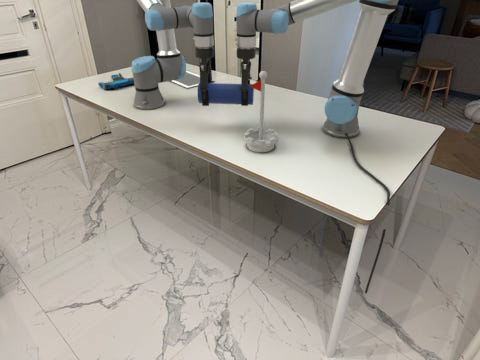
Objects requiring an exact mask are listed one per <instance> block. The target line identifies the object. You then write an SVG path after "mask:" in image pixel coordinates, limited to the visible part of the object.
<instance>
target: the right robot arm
mask: <svg viewBox="0 0 480 360" xmlns="http://www.w3.org/2000/svg"><path fill="white" fill-rule="evenodd" d="M355 2H358V5H359V6H360V7H359V8H360V9H361V10H360V13H359V15H358V18H357V22H356V25H355V27H354V31H353V34H352V37H351V41H350V43H349V46H348V49H347V53H346V56H345V59H344V62H343V65H342V68H341V72H340V74H339V77H336V78H335V79H334V81H333V82H332V86H331V89H330V92H329V95H328V98H327V100H326V102H325V103H324V113H325V116H326V120H325V121H324V123H323V126H322V130H323V132H324V133H325V134H326V135H329V136H332V137H335V138H339V139H341V138H342V139H347V141H348V144H349V147H350V151H351V155H352V158H353V160H354V162H355V164H356V165H357V166H358V167H359V168H360V170H362V171H363V172H365V173H366V174H367V175H368V176H370V178H372V179H373V180H374V181H376V182H377V183H378V184H380V185H381V186H382V187H383V188H384V189H385V191H386V194H387V196H386V205H388V206H390V202H391V201H390V199H391V191H390V190H389V188H388V186H387V185H386V184H384V183H383V182H382V181H381V180H380V179H378V178H377V177H376V176H374V175H373V174H372V172H371V173H370V171H368V170H367V169H365V168H364V167H363V166H362V165H361V163H359V161H358V160H357V157H356V155H355V152H354V148H353V143H352V141H351V139H350V138H354V137H356V136H357V135H359V132H360V125H359V118H358V117H359V116H358V114H359V111H360V110H359V109H360V105H361V101H362V98H363V96H364V93H365V89H364V88H365V87H364V84H365V82H364V81H365V78H366V74H367V73H368V69H369V67H370V64H371V62H372V59H373V56H374V53H375V51H376V49H377V47H378V46H377V45H378V43H379V40H380V37H381V35H382V32H383V29H384V27H385V24H386V21H387V18H388V16H389V15H390V14H392V13H393V12H394V11H395V10H396V8H397V5H398V2H399V0H293V1H291V2H288V3H286V4H282V5H280V6H277V7H276V8H273V9H258V7H257V4H256V3H254V2H241V3H238V4H237V5H236V15H235V20H236V37H235V39H234V40H235V41H236V47H237V48H236V58H237V59H240V60H242V61H241V62H240V74H241V82H240V84H241V88H240V90H241V104H240V105H241V106H245V107H248V106H249V105H248V84H251V80H253V79H252V78H253V77H252V76H251V69H252V67H251V66H252V61H251V60H253V59H255V58H256V53H257V51H256V46H257V33H269V34H275V35H278V34H285V33H286V32H287V30H288V28H289V26H290V25H293V24H295V23H298V22H302V21H304V20H307V19H310V18H312V17H316V16H318V15H322V14H324V13H328V12H330V11H332V10H335V9H338V8H341V7H344V6H347V5H350V4H353V3H355ZM386 231H387V228H384V229H382V233H381V238H380V242H379V246H378V249H377V252H376V256H375V258H374V262H373V265H372V268H371V271H370V274H369V277H368V280H367V283H366V287H365V290H364V294H368V291H369V287H370V285H371V281H372V279H373V276H374V271H375V269H376V266H377V263H378V260H379V257H380V253H381V250H382V247H383V243H384V239H385V235H386Z"/></svg>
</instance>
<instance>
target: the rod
mask: <svg viewBox="0 0 480 360" xmlns="http://www.w3.org/2000/svg"><path fill="white" fill-rule="evenodd" d="M253 84H254V83H250V84H248V106H249V105H250V106H251V105H254V98H255V97H254V95H255V93H254V91H255V89H254V88H251V87H250V86H252V85H253ZM240 88H241V83H225V82H223V83H222V82H213V83H208V88H207V89H208V97H209V105H210V104H213V105H214V104H215V105H241V90H240ZM199 89H200V83H199V85H198V86H197V101H198V103H199V104H202V93H201V91H199Z"/></svg>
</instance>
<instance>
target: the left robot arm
mask: <svg viewBox="0 0 480 360" xmlns="http://www.w3.org/2000/svg"><path fill="white" fill-rule="evenodd" d="M136 2H137V3H138V5H139V6H140V7H141V9H143V11H144V20H145V24H146V27H147V29H148V30H149V31H154V32H156V40H157V44H158V52H157V53H156V57H157V58H155V56H153V55H144V56H140V57H137V58H134V60H132V62H131V63H130V64H131V74H132V78H133V79H134V83H133V84H132V85H134V88H135V93H134V100H133V105H134V108H136V109H138V110H155V109H159V108H161V107H163V106H164V105H165V99H164V97H163V94H162V92H161V90H160V86H159V84H161V83H167V82H171V81H173V80H175V81H176V80H178V79H182V78H183V77H184V76H185V73H186V71H187V63H186V59H185V57H184V56H183V55H182V54H181V51H179V50H178V48H177V41H176V35H175V30H177V29H178V30H179V29H186V28H187V29H188V28H192V29H193V35H194V36H193V38H192V39H193V41H194V46H195V48H194V55H195V58H197V59H200V61H199V65H198V68H199V75H200V89H199V91H201V93H202V103H201V105H202V106H203V107H209V106H210V104H209V97H208V89H207V88H208V83H214V82H213V81H214V80H213V73H212V58H214V57H215V48H214V46H215V39H214V36H215V35H214V13H213V6H212V3H210V2H194V3H192V5H183V6H178V7H176V6H175V7H172V6H171V0H136ZM118 76H119V77H121V78H123V79H124V78H125V77H123V76H122V74H121V73H120V72H118Z"/></svg>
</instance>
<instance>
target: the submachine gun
mask: <svg viewBox="0 0 480 360" xmlns="http://www.w3.org/2000/svg"><path fill="white" fill-rule="evenodd" d="M110 77H111V79H112V80H111V81H108V82H102V81H100V82H98V83H97V84H98V86H99V87H100V88H102V89H103V90H110V89H116V90H117V89H118V88H120V87H123V86H128V85H134V84H133V83H134V79H133V77H129V78H126V77H123V78H124V79H123V78H121V77H120V76H119V74H112V75H110Z"/></svg>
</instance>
